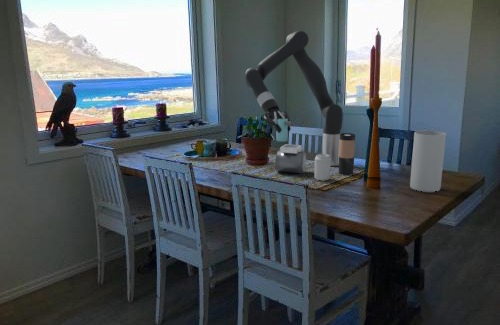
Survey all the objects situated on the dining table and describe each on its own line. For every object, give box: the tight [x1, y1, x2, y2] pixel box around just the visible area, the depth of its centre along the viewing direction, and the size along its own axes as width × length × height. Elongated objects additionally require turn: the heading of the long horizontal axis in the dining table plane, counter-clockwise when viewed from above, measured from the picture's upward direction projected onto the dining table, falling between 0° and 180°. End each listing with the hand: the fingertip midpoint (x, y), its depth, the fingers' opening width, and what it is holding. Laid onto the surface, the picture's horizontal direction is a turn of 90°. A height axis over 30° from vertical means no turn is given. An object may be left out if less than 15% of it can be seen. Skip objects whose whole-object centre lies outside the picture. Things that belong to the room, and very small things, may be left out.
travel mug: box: [338, 132, 356, 176], centre depth 210 cm, size 8×8×20 cm
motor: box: [274, 143, 307, 174], centre depth 214 cm, size 13×11×14 cm
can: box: [314, 153, 331, 182], centre depth 201 cm, size 8×8×12 cm
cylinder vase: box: [409, 130, 447, 193], centre depth 183 cm, size 12×12×25 cm
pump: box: [275, 118, 292, 142], centre depth 195 cm, size 8×5×10 cm, turn 39°
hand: (284, 131), depth 194 cm, fingers closed on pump, 5 cm apart
